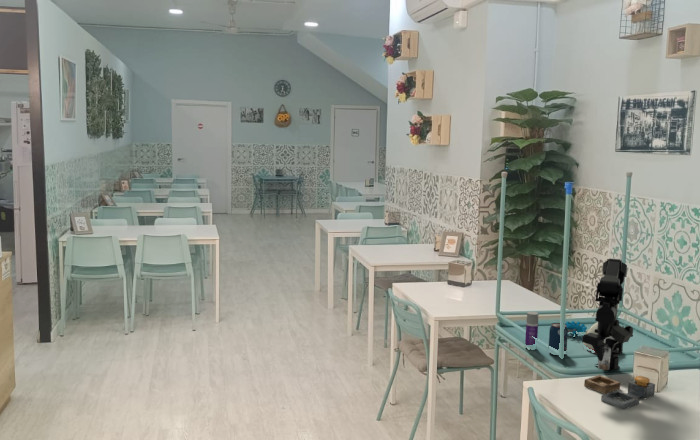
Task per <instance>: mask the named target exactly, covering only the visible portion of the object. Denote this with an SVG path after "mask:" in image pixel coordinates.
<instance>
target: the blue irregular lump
mask: <svg viewBox="0 0 700 440" xmlns="http://www.w3.org/2000/svg"><path fill="white" fill-rule="evenodd" d="M565 325H566V327H567V329H568V333H569V332H572V335H573V334H575V333H576V331H577V332H578V333H579V332H583V333H586V330H588V327H587V326H586V324H585V323H581V321H577V322H575V321H574V320H571V321H570V322H569V321H566V322H565ZM575 335H576V334H575Z"/></svg>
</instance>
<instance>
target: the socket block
mask: <svg viewBox="0 0 700 440" xmlns="http://www.w3.org/2000/svg"><path fill="white" fill-rule="evenodd" d="M655 391H656V384H655V383H653V382H649V383H647V385H646V386H642V385H639V384H637V382H636V381H635V379H634V380H631V381H628V386H627V393H625V392H622V391H620V390H619V389H618V390H615V391H612V392H610V393H607V394H604V393H603V394H602V395H601V396H600V397H601V398H600V400H601V402H604V403H606V404H609V405H611V406H614V407H616V408H619V409H621V410H626V409H628V408H631V407H634V406H637V405H640V399H642V400H646V399H648V398H651V397H654V396H655ZM617 398H619V399H622V400H624V401H621V400H619V399H617Z"/></svg>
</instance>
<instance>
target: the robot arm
mask: <svg viewBox="0 0 700 440" xmlns="http://www.w3.org/2000/svg"><path fill="white" fill-rule="evenodd" d="M601 270H602V275H603V276H602V277H600V279H599V282H597V285H596V293H595V302H599V303H598V308H597V309H596V312H595V319H594V321H595V322H598V328H597V329H595V333H598V335H597V334H594V333H588V334H584V333H583V335H582V336H581V342H582V343H583V342H584V343H587V344H590V345H592V346H593V348H594V350H595V353H596V354H595V355H596V357H597V361H598V360H599V361H602V359H603V354H604V348H605V347H606V346H609V347H611V354H610V368H609V370H607V371H608V372H610V371H615V370H618V369H620V367H621V366H619V364H620V363H619V360H620V358H619V357H620V355H623V351H624V350H623V348H624V343H629V340H630V338H632V337H633V336H634V335H633V334H634V329H633V327H632V326H631V325H627V326H623V325H622V326H621V325H620V321H619V319H618V307H619V306H618V305H619V304H620V302H622V301H623V293H624V288H623V283H624V282H625V280H626V279H625V278H627V275H628V265H627V264H626V263H624V262H623V261H622V260H621V259H620V258H607V259H606V261H604V262H602V269H601ZM595 365H598V363H596V364H595Z"/></svg>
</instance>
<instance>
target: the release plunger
mask: <svg viewBox="0 0 700 440" xmlns="http://www.w3.org/2000/svg"><path fill="white" fill-rule="evenodd" d="M634 380H635V381H636V382H637V384H639V385H642V386H646V385H647V383H649V382H650V378H649V377H646V376H641V375H636V376H635V377H634ZM650 383H651V382H650Z"/></svg>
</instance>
